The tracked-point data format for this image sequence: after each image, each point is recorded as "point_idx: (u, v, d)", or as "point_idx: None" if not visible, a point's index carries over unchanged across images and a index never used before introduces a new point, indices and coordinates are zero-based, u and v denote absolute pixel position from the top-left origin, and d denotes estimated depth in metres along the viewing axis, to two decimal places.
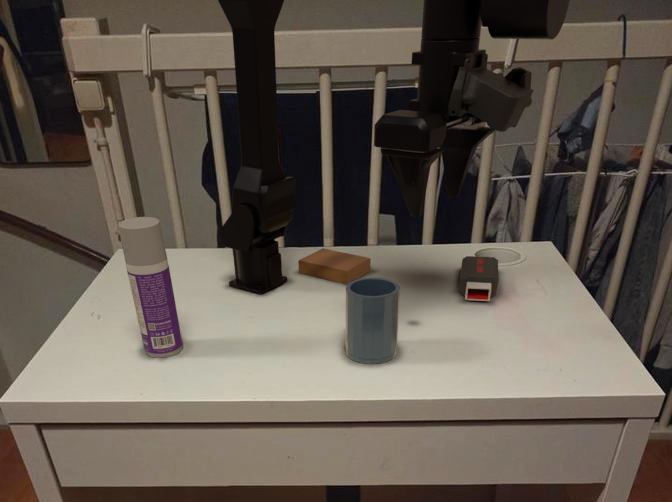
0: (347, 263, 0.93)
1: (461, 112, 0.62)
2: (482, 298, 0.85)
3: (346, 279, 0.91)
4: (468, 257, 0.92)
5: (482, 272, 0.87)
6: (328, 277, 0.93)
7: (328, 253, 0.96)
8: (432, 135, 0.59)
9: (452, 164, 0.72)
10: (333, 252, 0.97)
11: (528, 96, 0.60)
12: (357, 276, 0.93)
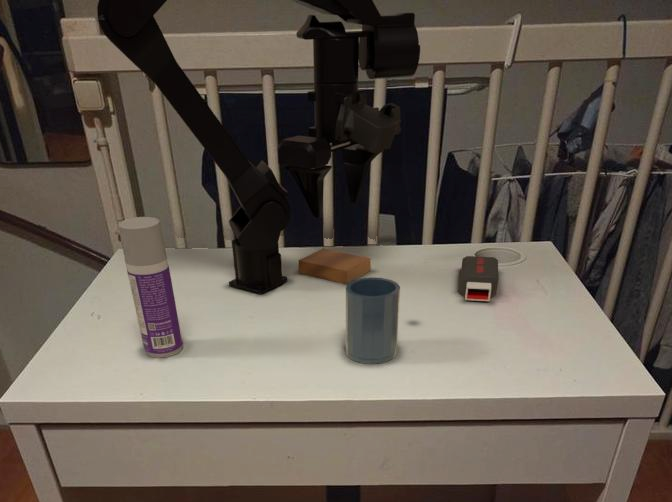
0: (347, 263, 0.93)
1: (345, 137, 0.80)
2: (482, 298, 0.85)
3: (346, 279, 0.91)
4: (468, 257, 0.92)
5: (482, 272, 0.87)
6: (328, 277, 0.93)
7: (328, 253, 0.96)
8: (318, 155, 0.77)
9: (351, 176, 0.90)
10: (333, 252, 0.97)
11: (394, 126, 0.79)
12: (357, 276, 0.93)
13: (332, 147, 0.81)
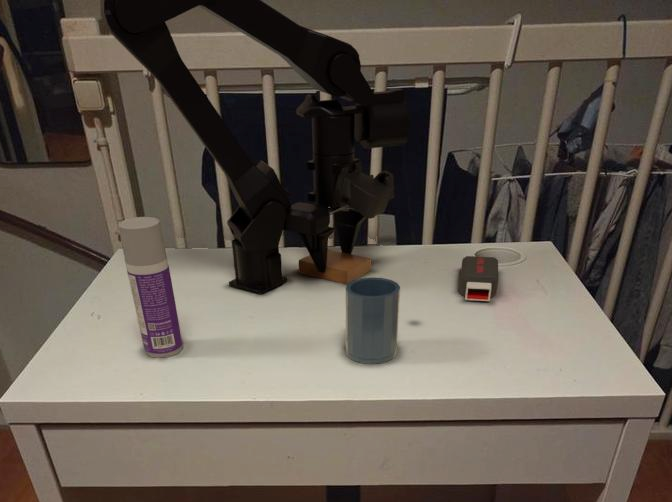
0: (347, 263, 0.93)
1: (342, 204, 0.86)
2: (482, 298, 0.85)
3: (346, 279, 0.91)
4: (468, 257, 0.92)
5: (482, 272, 0.87)
6: (328, 277, 0.93)
7: (329, 253, 0.96)
8: (318, 223, 0.83)
9: (344, 235, 0.95)
10: (333, 252, 0.97)
11: (388, 193, 0.85)
12: (357, 276, 0.93)
13: (335, 210, 0.88)
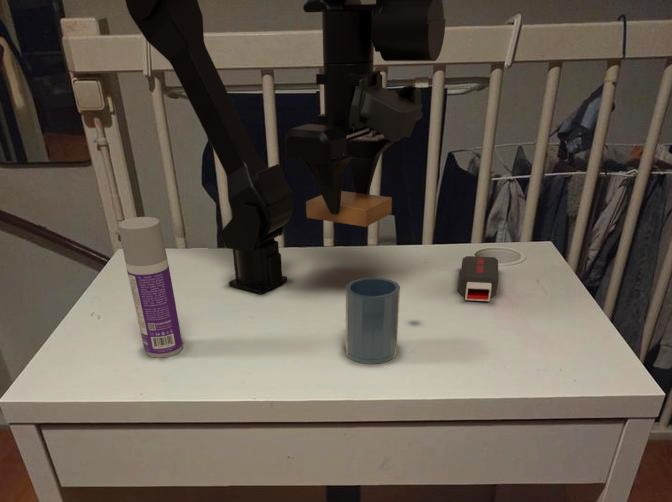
0: (364, 203, 0.77)
1: (360, 125, 0.71)
2: (482, 298, 0.85)
3: (365, 220, 0.76)
4: (468, 257, 0.92)
5: (482, 272, 0.87)
6: (343, 220, 0.78)
7: (341, 194, 0.81)
8: (333, 145, 0.68)
9: (359, 172, 0.80)
10: (346, 193, 0.82)
11: (416, 110, 0.70)
12: (377, 218, 0.78)
13: (351, 134, 0.72)
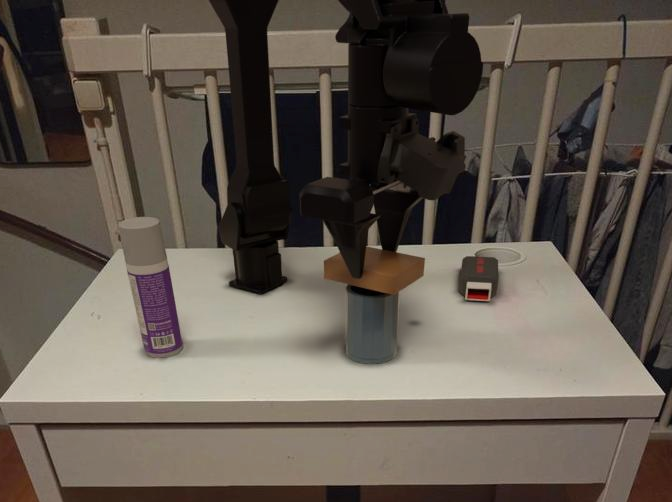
0: (392, 266, 0.66)
1: (391, 179, 0.59)
2: (482, 298, 0.85)
3: (392, 288, 0.64)
4: (468, 257, 0.92)
5: (482, 272, 0.87)
6: (366, 285, 0.66)
7: None
8: (357, 207, 0.56)
9: (386, 226, 0.68)
10: (371, 249, 0.70)
11: (459, 164, 0.58)
12: (407, 283, 0.66)
13: (380, 189, 0.61)
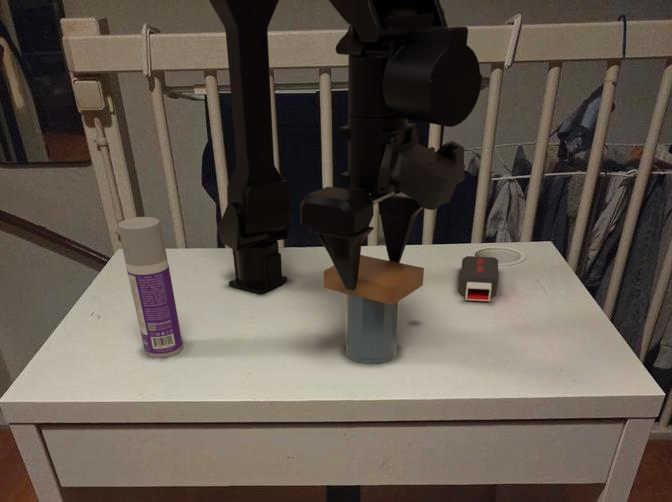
0: (392, 276, 0.66)
1: (390, 189, 0.59)
2: (482, 298, 0.85)
3: (392, 298, 0.65)
4: (468, 257, 0.92)
5: (482, 272, 0.87)
6: (366, 295, 0.67)
7: (365, 261, 0.70)
8: (357, 216, 0.57)
9: (392, 232, 0.70)
10: (371, 259, 0.71)
11: (459, 174, 0.58)
12: (406, 293, 0.67)
13: (373, 201, 0.60)
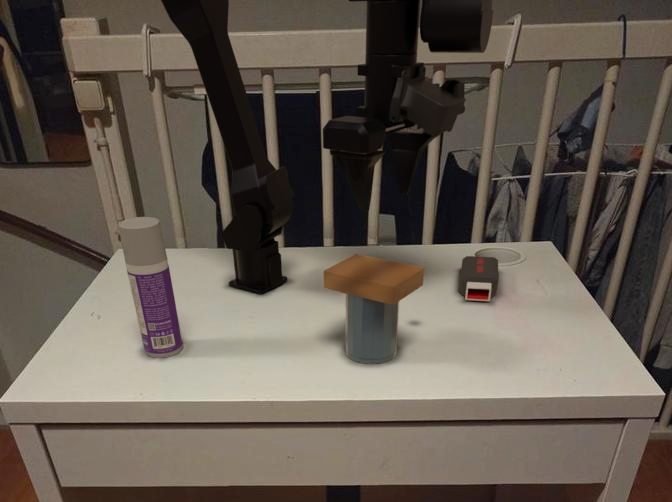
0: (392, 276, 0.66)
1: (400, 118, 0.69)
2: (482, 298, 0.85)
3: (392, 298, 0.65)
4: (468, 257, 0.92)
5: (482, 272, 0.87)
6: (366, 295, 0.67)
7: (365, 261, 0.70)
8: (371, 138, 0.67)
9: (402, 164, 0.79)
10: (371, 259, 0.71)
11: (459, 104, 0.68)
12: (406, 293, 0.67)
13: (385, 129, 0.70)
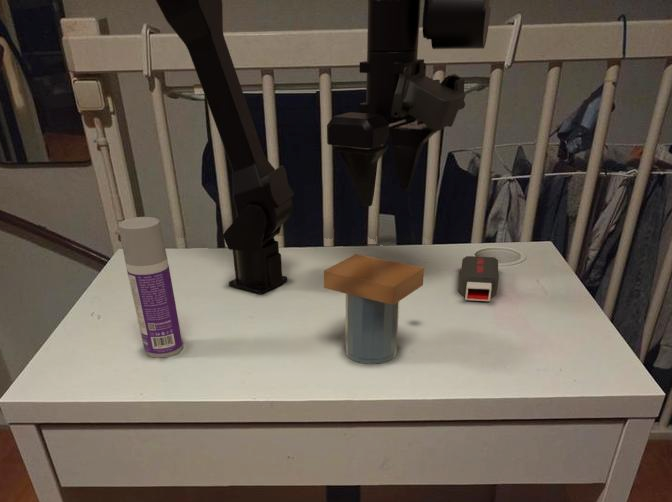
0: (392, 276, 0.66)
1: (402, 114, 0.71)
2: (482, 298, 0.85)
3: (392, 298, 0.65)
4: (468, 257, 0.92)
5: (482, 272, 0.87)
6: (366, 295, 0.67)
7: (365, 261, 0.70)
8: (375, 133, 0.68)
9: (402, 160, 0.81)
10: (371, 259, 0.71)
11: (460, 99, 0.70)
12: (406, 293, 0.67)
13: None
